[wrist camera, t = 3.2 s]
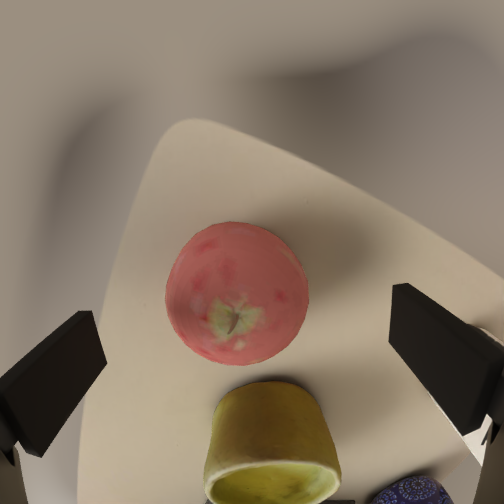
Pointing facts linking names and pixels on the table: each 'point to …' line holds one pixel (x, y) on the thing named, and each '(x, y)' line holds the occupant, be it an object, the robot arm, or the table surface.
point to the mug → (270, 448)
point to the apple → (236, 294)
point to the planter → (414, 492)
